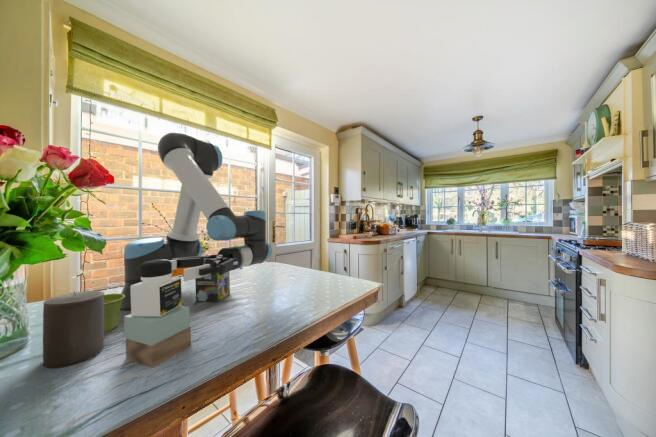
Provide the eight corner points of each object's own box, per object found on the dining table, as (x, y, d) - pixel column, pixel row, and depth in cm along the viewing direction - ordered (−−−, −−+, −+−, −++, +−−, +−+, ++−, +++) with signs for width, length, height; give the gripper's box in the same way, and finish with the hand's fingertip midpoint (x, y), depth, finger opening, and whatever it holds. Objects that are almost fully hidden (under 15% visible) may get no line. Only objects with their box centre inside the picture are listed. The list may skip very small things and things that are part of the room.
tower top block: (124, 338, 53) (124, 316, 53) (163, 321, 62) (163, 302, 62) (151, 345, 50) (151, 322, 50) (189, 327, 59) (189, 307, 59)
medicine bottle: (160, 317, 52) (159, 263, 52) (130, 317, 53) (128, 263, 53) (182, 305, 60) (181, 257, 59) (155, 304, 60) (153, 257, 60)
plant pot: (121, 318, 74) (121, 291, 74) (128, 327, 68) (128, 298, 68) (78, 329, 67) (77, 299, 67) (81, 341, 61) (81, 308, 61)
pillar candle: (48, 374, 48) (48, 301, 48) (38, 358, 53) (38, 292, 53) (110, 351, 57) (111, 289, 56) (96, 339, 62) (97, 282, 61)
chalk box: (230, 294, 97) (230, 258, 96) (217, 302, 88) (217, 263, 87) (209, 293, 98) (209, 257, 97) (194, 301, 88) (194, 262, 88)
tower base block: (126, 359, 54) (125, 337, 54) (165, 339, 62) (165, 321, 62) (153, 368, 51) (153, 345, 50) (190, 346, 59) (190, 326, 59)
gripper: (264, 273, 72) (201, 294, 52) (208, 265, 82) (137, 281, 63) (264, 248, 72) (201, 261, 52) (207, 244, 82) (137, 253, 63)
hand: (166, 272), depth 58 cm, fingers open, 13 cm apart
